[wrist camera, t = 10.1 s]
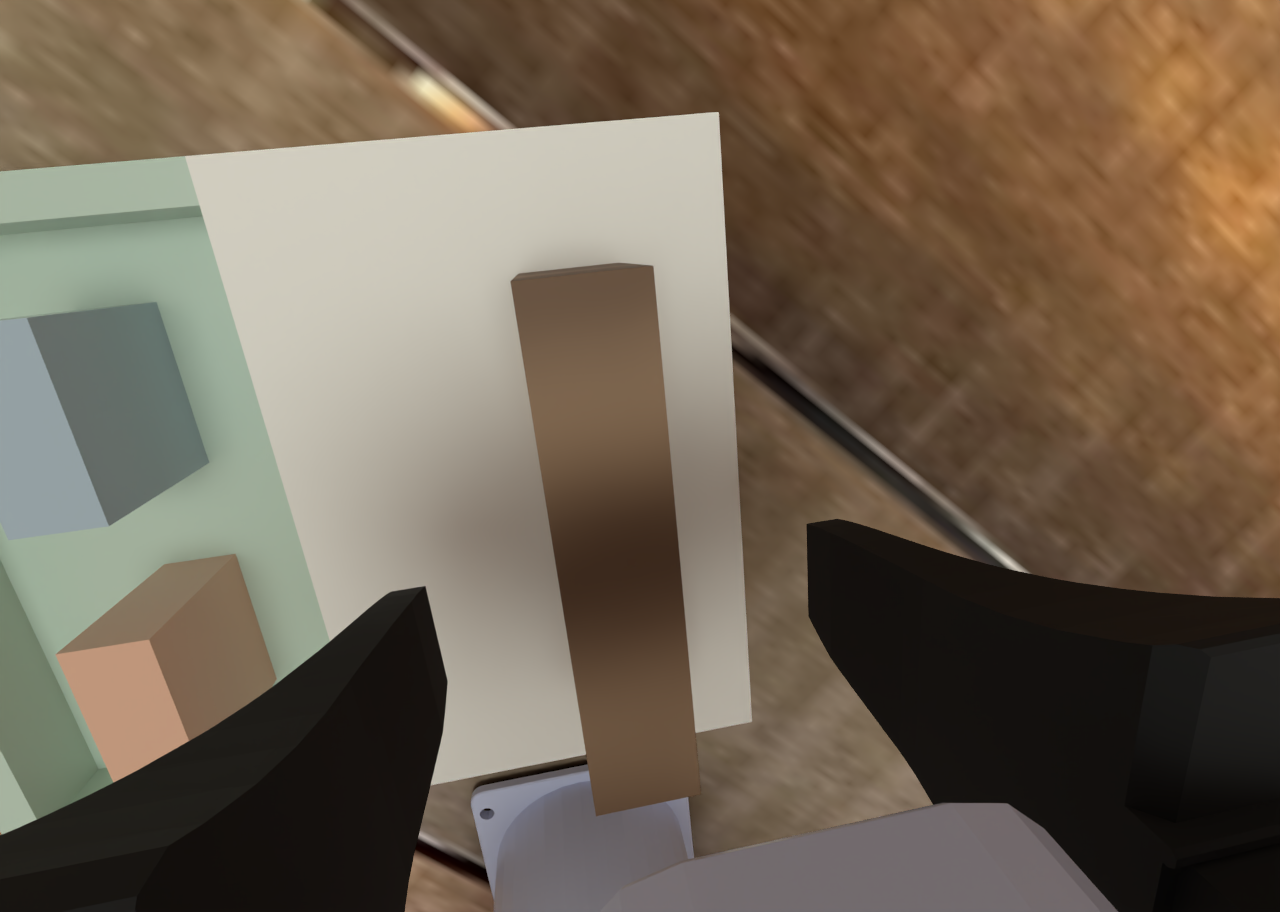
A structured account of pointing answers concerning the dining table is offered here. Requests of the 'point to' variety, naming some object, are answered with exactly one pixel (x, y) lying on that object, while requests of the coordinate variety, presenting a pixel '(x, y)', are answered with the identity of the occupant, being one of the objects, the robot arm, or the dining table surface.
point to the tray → (172, 521)
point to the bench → (479, 390)
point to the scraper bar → (612, 523)
